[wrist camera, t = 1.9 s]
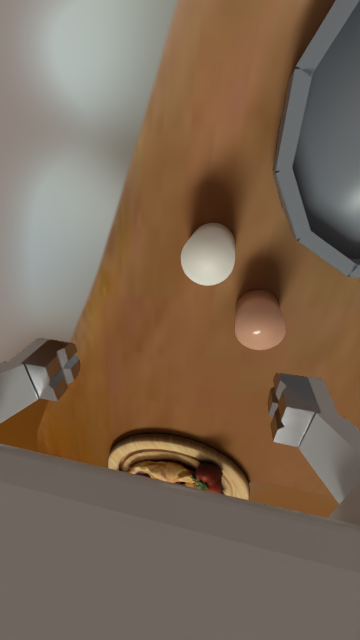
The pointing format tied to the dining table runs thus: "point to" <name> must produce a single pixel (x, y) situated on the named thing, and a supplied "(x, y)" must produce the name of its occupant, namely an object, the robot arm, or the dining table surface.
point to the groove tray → (324, 142)
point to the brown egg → (259, 320)
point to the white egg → (209, 254)
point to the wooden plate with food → (179, 463)
